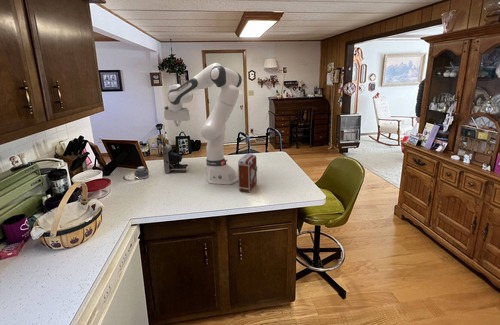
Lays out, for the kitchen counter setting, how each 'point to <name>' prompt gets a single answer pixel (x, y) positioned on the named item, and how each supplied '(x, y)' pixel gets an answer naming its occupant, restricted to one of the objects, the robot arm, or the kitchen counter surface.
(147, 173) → the lens barrel
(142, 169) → the lens cap
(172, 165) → the vintage camera
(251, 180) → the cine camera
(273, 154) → the kitchen counter surface
